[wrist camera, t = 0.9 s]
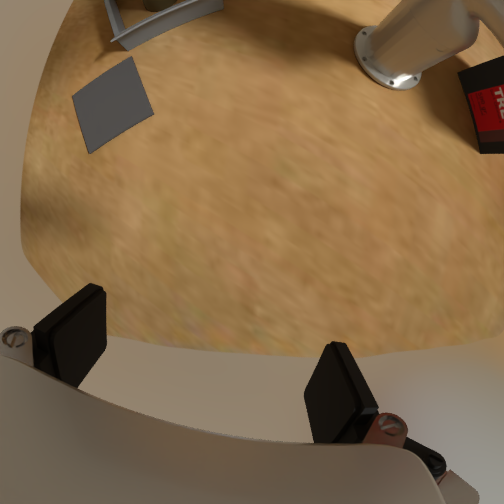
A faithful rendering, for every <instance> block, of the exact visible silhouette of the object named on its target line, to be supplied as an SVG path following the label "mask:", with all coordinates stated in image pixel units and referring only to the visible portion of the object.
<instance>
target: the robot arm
mask: <svg viewBox="0 0 504 504" xmlns="http://www.w3.org/2000/svg"><path fill="white" fill-rule="evenodd" d="M479 19H480V20H481V21H482V22H483V23H484V24H485V25H486V26H487V28H488V29H489V30H490V31H491V32H492V33H493V35H494V36H495V37H496V39H497V40H498V41H499V43H500V44H501V45H502V47H503V48H504V0H402V1H401V2H400V3H399V4H398V5H397V6H396V7H395V8H394V9H393V10H392V11H391V12H390V13H389V14H388V15H387V16H386V18H385V19H384V20H383V21H382V22H381V23H380V24H379V25H378V26H367V27H365V28H363V29H362V30H361V31H359V33H358V34H357V35H356V37H355V40H354V52H355V55H356V58H357V60H358V62H359V63H360V65H361V66H362V68H363V69H364V70H365V72H366V73H367V74H368V75H369V76H370V77H371V78H373V79H374V80H375V81H376V82H378V83H379V84H381V85H383V86H385V87H387V88H390V89H393V90H398V91H403V90H408V89H411V88H413V87H414V86H416V85H417V84H418V82H419V81H420V79H421V75H422V71H424V70H426V69H428V68H430V67H431V66H433V65H435V64H437V63H439V62H441V61H443V60H445V59H447V58H449V57H451V56H453V55H455V54H457V53H459V52H461V51H463V50H465V49H467V48H469V47H471V46H472V45H473V44H474V43H475V41H476V39H477V36H478V33H479ZM106 346H107V335H106V292H105V291H103V287H101V286H98V285H95V284H92V283H89V284H88V285H86V286H85V287H84V288H82V289H81V290H80V291H78V292H77V293H76V294H74V295H73V296H72V297H70V298H69V299H68V300H66V301H65V302H64V303H62V304H61V305H60V306H59V307H57V308H56V309H55V310H53V311H52V312H51V313H50V314H48V315H47V316H46V317H45V318H43V319H42V320H41V321H40V322H39V323H37V324H36V325H35V326H34V330H33V331H32V332H31V333H30V332H29V331H28V330H27V329H25V328H22V327H18V326H14V327H9V328H6V329H5V330H3V331H2V332H1V333H0V504H478V503H479V495H478V492H477V491H476V490H475V489H474V488H473V487H472V486H470V485H469V484H468V483H467V482H465V481H464V480H463V479H462V478H460V477H459V476H458V475H456V474H455V473H454V472H453V471H451V470H449V471H448V472H447V471H446V461H445V459H444V458H443V457H442V456H441V455H440V454H439V453H437V452H435V451H434V450H431V449H429V448H427V447H425V446H423V445H422V444H419V443H418V442H416V441H414V440H412V439H410V438H408V437H406V436H407V433H408V428H407V425H406V423H405V422H404V421H403V420H402V419H401V418H400V417H398V416H397V415H395V414H392V413H381V414H379V412H378V410H377V409H378V408H379V407H378V405H377V403H376V401H375V399H374V397H373V395H372V393H371V391H370V389H369V387H368V385H367V383H366V381H365V379H364V377H363V375H362V373H361V371H360V369H359V368H358V366H357V364H356V362H355V360H354V358H353V356H352V354H351V352H350V350H349V348H348V347H347V345H346V343H342V342H335V341H332V342H331V343H330V344H327V345H326V346H325V348H324V351H323V353H322V355H321V357H320V359H319V362H318V364H317V366H316V368H315V370H314V372H313V374H312V376H311V378H310V380H309V383H308V385H307V387H306V389H305V391H304V400H305V404H306V409H307V413H308V418H309V422H310V427H311V431H312V436H313V440H314V443H298V442H283V441H271V440H262V439H253V438H246V437H239V436H232V435H227V434H221V433H215V432H210V431H205V430H201V429H195V428H192V427H187V426H183V425H179V424H175V423H171V422H168V421H164V420H161V419H157V418H154V417H151V416H148V415H144V414H141V413H138V412H135V411H132V410H129V409H127V408H124V407H121V406H118V405H116V404H113V403H110V402H108V401H105V400H103V399H100V398H98V397H95V396H93V395H91V394H88V393H86V392H84V391H82V390H79V389H77V388H78V386H79V385H80V383H81V382H82V381H83V379H84V378H85V377H86V375H87V374H88V372H89V371H90V370H91V368H92V367H93V366H94V364H95V363H96V362H97V360H98V358H99V357H100V356H101V355H102V354H103V352H104V351H105V349H106Z"/></svg>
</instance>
